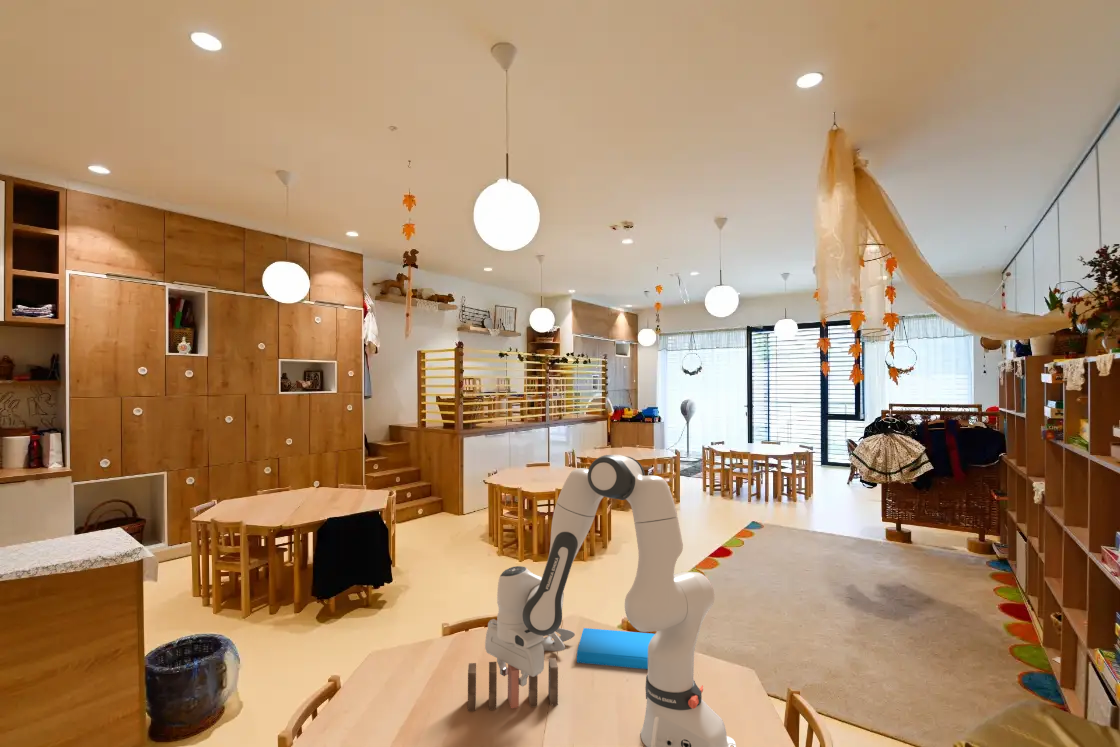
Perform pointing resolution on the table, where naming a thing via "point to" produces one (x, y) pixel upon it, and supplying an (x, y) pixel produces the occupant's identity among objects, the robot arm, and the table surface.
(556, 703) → the tile
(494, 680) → the tile
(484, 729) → the table surface
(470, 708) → the tile
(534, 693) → the tile
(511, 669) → the tile
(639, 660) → the book
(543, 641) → the sculpture
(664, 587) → the robot arm
